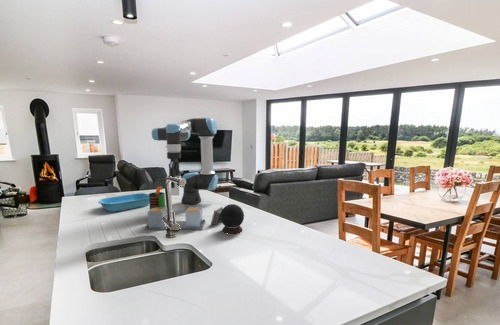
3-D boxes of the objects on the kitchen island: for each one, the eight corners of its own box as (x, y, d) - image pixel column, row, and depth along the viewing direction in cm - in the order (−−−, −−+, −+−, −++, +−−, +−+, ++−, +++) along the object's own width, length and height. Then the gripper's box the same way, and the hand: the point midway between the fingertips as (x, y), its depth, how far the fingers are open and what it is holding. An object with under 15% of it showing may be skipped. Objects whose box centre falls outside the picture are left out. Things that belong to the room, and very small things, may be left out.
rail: (152, 223, 158) (151, 205, 157) (205, 222, 159) (204, 205, 158) (145, 229, 148) (144, 211, 146) (202, 229, 148) (201, 211, 147)
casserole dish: (145, 199, 214) (144, 191, 213) (157, 204, 198) (157, 195, 198) (94, 208, 188) (93, 199, 187) (104, 216, 172) (103, 205, 172)
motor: (146, 218, 166) (145, 187, 164) (156, 214, 175) (154, 185, 172) (160, 220, 163) (158, 189, 161) (169, 216, 171) (167, 186, 169)
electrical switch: (218, 219, 165) (219, 205, 163) (225, 221, 163) (226, 207, 161) (210, 224, 156) (211, 209, 155) (218, 226, 154) (219, 211, 153)
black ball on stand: (215, 230, 147) (215, 204, 145) (233, 224, 156) (233, 200, 154) (231, 237, 137) (230, 209, 136) (248, 230, 147) (248, 204, 145)
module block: (171, 193, 154) (170, 175, 152) (181, 193, 154) (181, 175, 152) (168, 195, 148) (167, 176, 147) (179, 195, 148) (178, 176, 147)
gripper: (171, 150, 157) (173, 188, 160) (162, 152, 139) (163, 195, 141) (184, 150, 157) (185, 188, 160) (176, 153, 139) (177, 195, 141)
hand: (175, 191), depth 151 cm, fingers closed on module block, 6 cm apart
